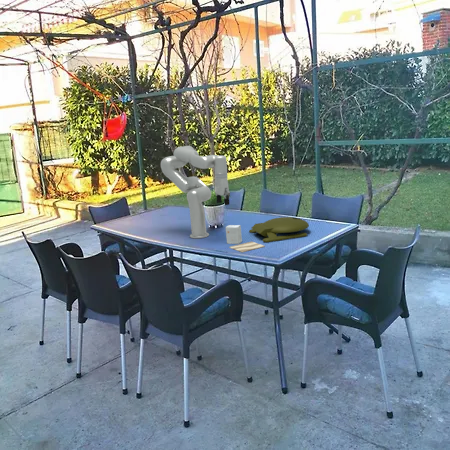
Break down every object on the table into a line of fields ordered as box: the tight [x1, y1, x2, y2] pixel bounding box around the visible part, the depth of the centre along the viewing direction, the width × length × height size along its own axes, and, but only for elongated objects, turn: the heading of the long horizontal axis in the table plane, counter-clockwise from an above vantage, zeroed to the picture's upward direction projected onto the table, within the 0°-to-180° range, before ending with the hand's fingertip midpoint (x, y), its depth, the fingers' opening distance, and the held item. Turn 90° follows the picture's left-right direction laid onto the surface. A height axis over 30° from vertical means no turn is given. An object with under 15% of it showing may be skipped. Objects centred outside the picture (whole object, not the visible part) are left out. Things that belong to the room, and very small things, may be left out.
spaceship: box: [248, 216, 310, 243], centre depth 301 cm, size 35×31×10 cm
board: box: [228, 241, 266, 253], centre depth 277 cm, size 14×16×1 cm
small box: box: [225, 224, 243, 245], centre depth 288 cm, size 8×6×10 cm
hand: (223, 203), depth 292 cm, fingers open, 9 cm apart
